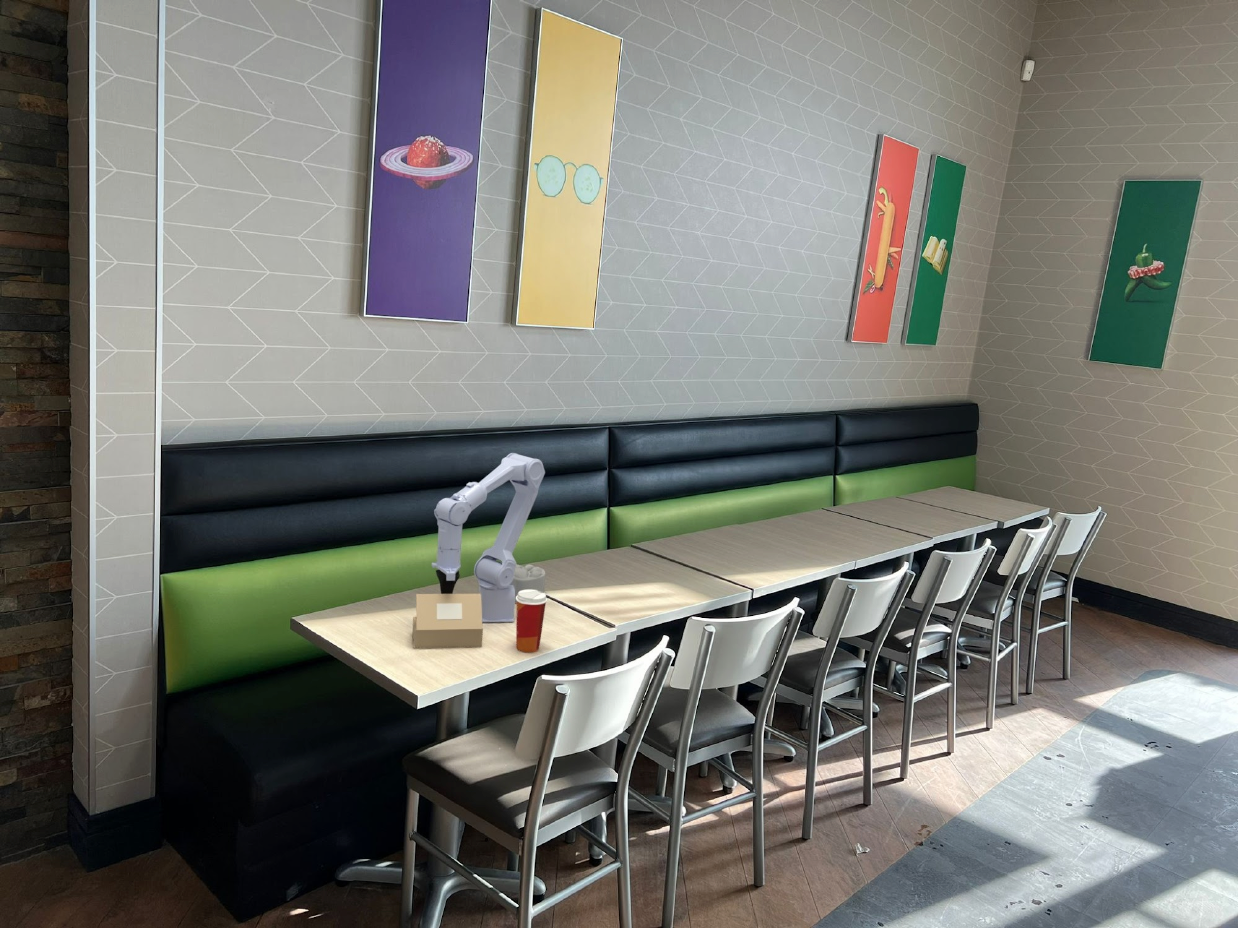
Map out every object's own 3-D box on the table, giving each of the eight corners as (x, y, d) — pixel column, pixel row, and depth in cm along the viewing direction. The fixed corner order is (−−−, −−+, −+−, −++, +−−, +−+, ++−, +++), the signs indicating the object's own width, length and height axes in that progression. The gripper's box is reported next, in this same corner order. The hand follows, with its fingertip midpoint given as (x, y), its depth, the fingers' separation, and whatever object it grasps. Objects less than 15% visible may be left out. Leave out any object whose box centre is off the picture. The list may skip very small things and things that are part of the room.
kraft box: (477, 632, 231) (478, 615, 230) (481, 646, 222) (482, 629, 222) (412, 633, 226) (413, 616, 225) (414, 648, 218) (415, 630, 217)
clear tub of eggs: (495, 596, 258) (497, 567, 257) (526, 587, 269) (528, 558, 267) (522, 606, 252) (524, 576, 251) (552, 596, 263) (555, 567, 261)
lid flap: (480, 594, 226) (481, 593, 225) (482, 629, 221) (482, 628, 221) (416, 594, 221) (416, 593, 221) (416, 630, 217) (416, 629, 217)
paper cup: (527, 639, 229) (531, 586, 227) (549, 649, 225) (554, 595, 222) (505, 647, 223) (508, 592, 221) (527, 657, 219) (531, 601, 216)
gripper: (430, 538, 232) (427, 589, 234) (435, 555, 218) (432, 609, 221) (458, 538, 234) (455, 589, 236) (465, 555, 220) (461, 609, 223)
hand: (446, 598), depth 229 cm, fingers closed
